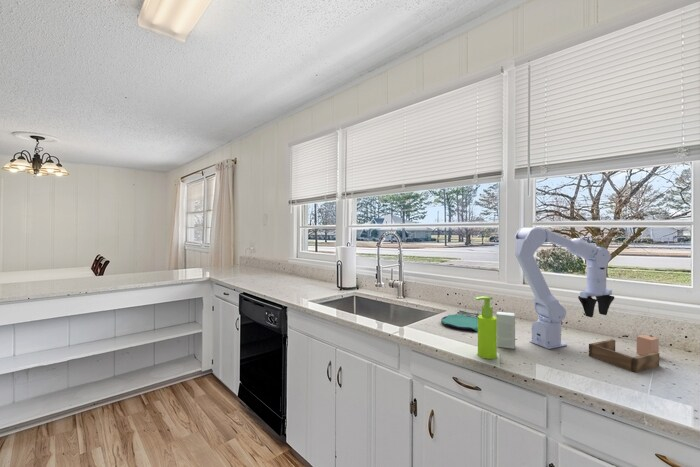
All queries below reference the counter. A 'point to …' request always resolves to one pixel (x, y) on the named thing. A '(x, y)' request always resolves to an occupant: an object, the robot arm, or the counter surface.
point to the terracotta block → (647, 344)
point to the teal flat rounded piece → (462, 320)
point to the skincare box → (506, 330)
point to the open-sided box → (622, 357)
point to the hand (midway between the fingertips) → (596, 315)
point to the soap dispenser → (487, 330)
